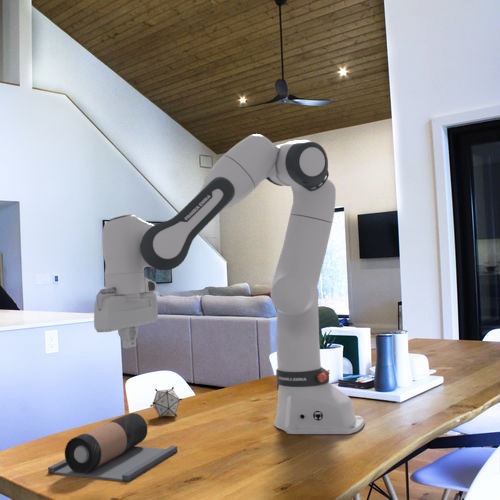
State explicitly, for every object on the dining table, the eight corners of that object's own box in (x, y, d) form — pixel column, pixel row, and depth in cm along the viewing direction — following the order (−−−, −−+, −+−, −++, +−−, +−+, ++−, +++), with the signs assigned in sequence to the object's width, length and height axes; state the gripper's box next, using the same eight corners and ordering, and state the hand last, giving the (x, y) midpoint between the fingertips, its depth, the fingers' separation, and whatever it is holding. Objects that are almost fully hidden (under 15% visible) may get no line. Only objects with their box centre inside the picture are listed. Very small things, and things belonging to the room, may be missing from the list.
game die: (171, 431, 161) (174, 407, 156) (144, 420, 163) (145, 396, 157) (184, 408, 168) (188, 384, 163) (158, 398, 170) (160, 374, 165)
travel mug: (133, 404, 137) (77, 429, 118) (154, 428, 134) (100, 457, 116) (115, 427, 139) (57, 454, 120) (136, 451, 136) (80, 482, 118)
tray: (177, 451, 131) (177, 446, 131) (128, 481, 113) (128, 475, 113) (104, 445, 138) (104, 440, 138) (48, 473, 121) (48, 467, 121)
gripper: (108, 288, 121) (113, 354, 120) (160, 283, 140) (164, 340, 139) (84, 290, 123) (89, 355, 123) (138, 285, 142) (142, 341, 142)
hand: (129, 347), depth 131 cm, fingers closed
